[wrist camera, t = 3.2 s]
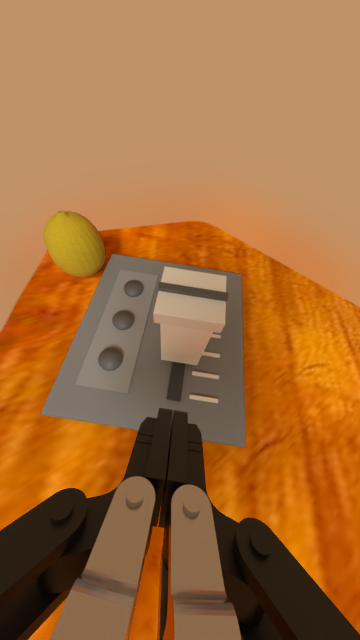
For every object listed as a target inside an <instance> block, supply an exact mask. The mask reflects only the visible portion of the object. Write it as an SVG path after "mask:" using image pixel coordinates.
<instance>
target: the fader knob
mask: <svg viewBox="0 0 360 640" xmlns="http://www.w3.org/2000/svg"><path fill="white" fill-rule="evenodd" d="M226 277H227V276H223V275H216V274H210V273H203V272H197V271H191V270H184V269H178V268H171V267H164V271H163V275H162V279H161V282H159V284H158V296H157V300H156V304H155V308H154V312H153V318H154V323H159V324H160V334H161V360H166V361H172V362H179V363H185V364H191V365H197V364H198V362H199V360H200V358H201V356H202V354H203V352H204V350H205V348H206V346H207V344H208V342H209V340H210V338H211V336H212V334H213V332H216V333H221V331H222V329H223V328H224V326H225V312H226V302H227V300H228V293H227V292H226Z"/></svg>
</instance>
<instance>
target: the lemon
mask: <svg viewBox="0 0 360 640" xmlns="http://www.w3.org/2000/svg"><path fill="white" fill-rule="evenodd" d="M44 240H45V244H46V246H47V249H48V252H49V254H50V256H51V258H52V259H53V261H54V262H55V263H56V264H57V265H58V266H59V267H60V268H61V269H62V270H63V271H65V272H66V273H68V274H70V275H72V276H76V277H89V276H92V275H94V274H96V273H97V272H98V271H100V269H101V268H102V266H103V264H104V262H105V246H104V243H103V241H102V238H101V236H100V234H99V232H98V231H97V229H96V228H95V226H94V225H93V224H92V223H91V222H90V221H89V220H88V219H87V218H85V217H84V216H82V215H80V214H78V213H74V212H69V211H58V212H57V213H56V214H54V215H53V216H52V217H51V218H50V219H49V220H48V221H47V223H46V225H45V228H44Z"/></svg>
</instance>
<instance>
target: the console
mask: <svg viewBox="0 0 360 640" xmlns="http://www.w3.org/2000/svg"><path fill="white" fill-rule="evenodd" d="M164 267H171V268H178V269H184V270H191V271H197V272H203V273H210V274H216V275H223V276H227V277H226V292H227V293H228V300H227V302H226V312H225V326H224V328H223V329H222V331H221V333H216V332H213V334H212V336H211V338H210V340H209V342H208V344H207V346H206V348H205V350H204V352H203V354H202V356H201V358H200V360H199V362H198V364H197V365H191V364H185V363H179V362H172V361H166V360H161V334H160V324H159V323H154V318H153V312H154V308H155V304H156V300H157V296H158V284H159V282H161V279H162V275H163V271H164ZM159 408H165V409H171V410H173V412H174V410H178V411H184V412H188V423H189V424H196V425H197V426H198V428H199V430H200V432H201V434H202V441H208V442H214V443H221V444H227V445H233V446H239V447H245V403H244V357H243V311H242V274H239V273H232V272H226V271H220V270H213V269H207V268H200V267H194V266H188V265H181V264H175V263H169V262H162V261H156V260H149V259H143V258H137V257H130V256H124V255H117V254H112V255H111V257H110V259H109V262H108V264H107V266H106V268H105V271H104V273H103V275H102V277H101V280H100V282H99V284H98V286H97V288H96V291H95V293H94V295H93V297H92V300H91V302H90V304H89V306H88V309H87V311H86V313H85V315H84V318H83V320H82V322H81V324H80V327H79V329H78V331H77V333H76V335H75V338H74V340H73V342H72V344H71V347H70V349H69V351H68V353H67V356H66V358H65V360H64V362H63V365H62V367H61V369H60V371H59V374H58V376H57V378H56V380H55V383H54V385H53V387H52V389H51V391H50V394H49V396H48V398H47V400H46V403H45V405H44V407H43V409H42V412H41V415H47V416H53V417H60V418H66V419H72V420H78V421H84V422H91V423H97V424H103V425H109V426H115V427H122V428H128V429H134V430H139V428H140V424H141V423H142V422H143V421H144V420H145V419H146V417H152V418H157V416H158V411H159ZM172 418H173V413H172Z"/></svg>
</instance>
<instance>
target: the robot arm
mask: <svg viewBox="0 0 360 640" xmlns="http://www.w3.org/2000/svg"><path fill="white" fill-rule="evenodd" d="M172 413H173V418H172ZM161 501H162V502H161ZM160 507H161V511H160ZM159 512H160V520H159V527H164V538H163V547H162V552H161V561H160V585H159V609H158V633H157V640H360V634H359V633H358V632H357V631H356V630H355V629H354V627H353V626H352V625H351V624H350V623H349V621H348V620H347V619H346V618H345V617H344V616H343V614H342V613H341V612H340V611H339V610H338V608H337V607H336V606H335V605H334V604H333V603H332V601H331V600H330V599H329V598H328V597H327V595H326V594H325V593H324V592H323V591H322V590H321V588H320V587H319V586H318V585H317V584H316V582H315V581H314V580H313V579H312V578H311V577H310V575H309V574H308V573H307V572H306V571H305V569H304V568H303V567H302V566H301V565H300V564H299V562H298V561H297V560H296V559H295V558H294V556H293V555H292V554H291V553H290V552H289V551H288V549H287V548H286V547H285V546H284V545H283V543H282V542H281V541H280V540H279V539H278V538H277V536H276V535H275V534H274V533H273V532H272V530H271V529H270V528H269V527H268V526H267V525H265V524H264V523H263V522H261V521H260V520H258V519H255V518H245V519H243V520H242V521H241V522H240V523H238V522H236V521H234V520H232V519H231V518H229V517H227V516H225V515H224V514H222V513H221V512H219V511H218V510H217V509H216V508H215V507H214V505H213V504H212V503H211V501H210V499H209V497H208V495H207V491H206V484H205V472H204V459H203V447H202V434H201V432H200V430H199V428H198V426H197V425H196V424H189V423H188V412H184V411H178V410H174V412H173V410H171V409H165V408H159V411H158V416H157V418H152V417H146V419H145V420H144V421H143V422H142V423H141V424H140V428H139V431H138V435H137V438H136V441H135V444H134V447H133V451H132V454H131V457H130V460H129V464H128V467H127V470H126V474H125V476H124V478H123V480H122V482H121V483H120V484H119V485H118V487H117V488H115V489H114V490H113V491H111V492H109V493H107V494H104V495H101V496H96V497H91V498H86V496H85V494H84V493H83V492H82V491H81V490H79V489H75V488H68V489H64V490H61V491H59V492H57V493H55V494H54V495H52V496H51V497H49V498H48V499H46V500H45V501H43V502H42V503H40V504H39V505H37V506H36V507H34V508H33V509H32V510H30V511H29V512H27V513H26V514H24V515H23V516H21V517H20V518H18V519H17V520H15V521H14V522H12V523H11V524H9V525H8V526H7V527H5V528H4V529H2V530H1V531H0V640H28V639H29V638H30V636H31V635H32V634H33V633H34V632H35V631H36V630H37V629H38V628H39V627H40V626H41V625H42V624H43V622H44V621H45V620H46V619H47V618H48V617H49V616H50V615H51V614H52V613H53V612H54V611H55V610H56V608H57V607H58V606H59V605H60V604H61V603H62V602H63V601H64V600H65V599H66V598H67V600H66V602H65V604H64V607H63V609H62V611H61V614H60V616H59V619H58V621H57V623H56V626H55V628H54V631H53V633H52V635H51V638H50V640H129V636H130V631H131V626H132V621H133V616H134V611H135V606H136V601H137V596H138V591H139V586H140V582H141V577H142V572H143V567H144V562H145V557H146V554H147V552H148V549H149V545H150V539H151V533H152V527H153V526H157V523H158V518H159Z"/></svg>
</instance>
